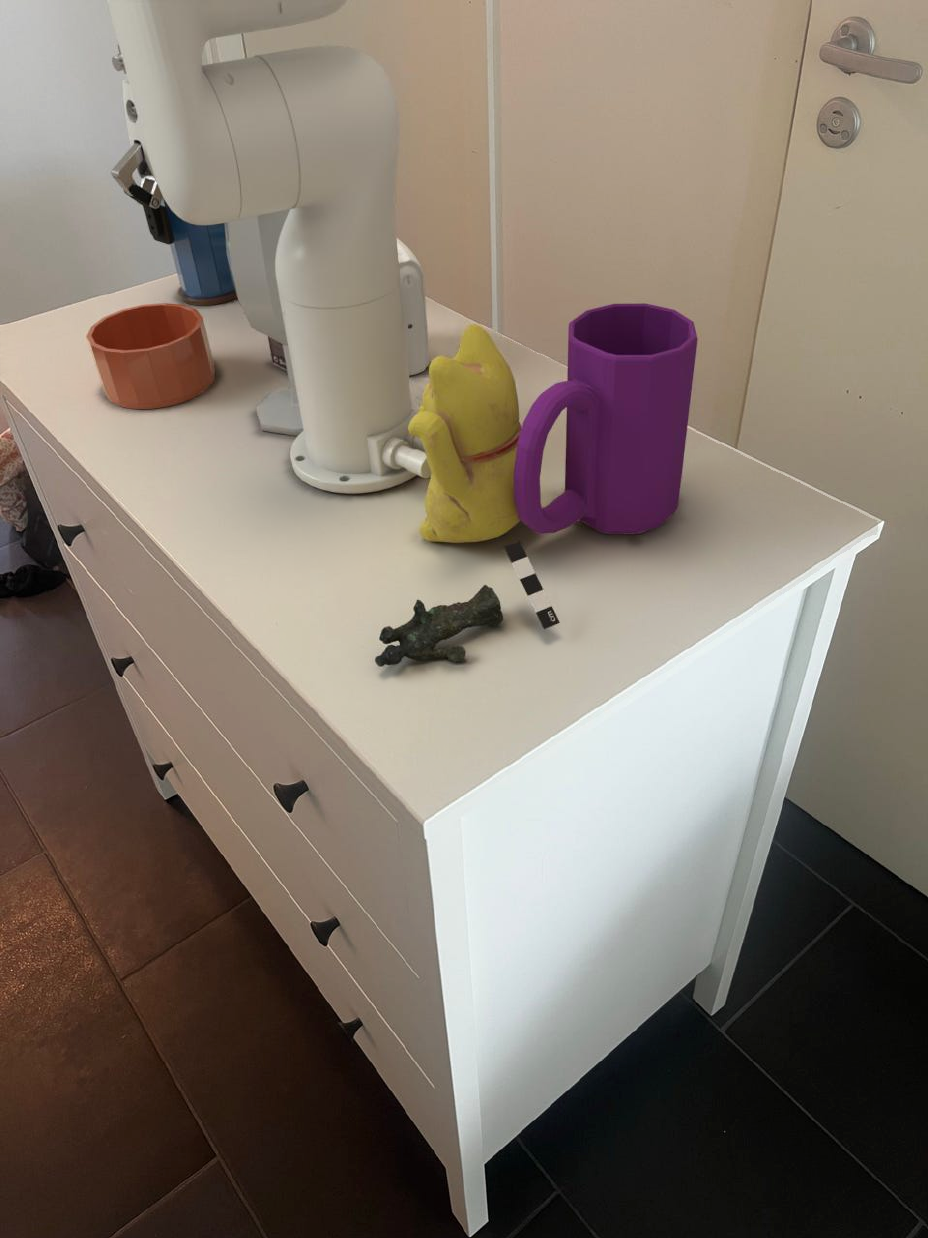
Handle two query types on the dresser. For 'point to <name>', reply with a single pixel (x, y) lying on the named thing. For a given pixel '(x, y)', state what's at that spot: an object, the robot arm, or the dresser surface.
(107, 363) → the orange bowl
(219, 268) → the blue cup
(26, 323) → the dresser surface
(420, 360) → the photo printer
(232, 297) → the coaster
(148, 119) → the robot arm
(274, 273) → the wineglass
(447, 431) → the figurine
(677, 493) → the mug
